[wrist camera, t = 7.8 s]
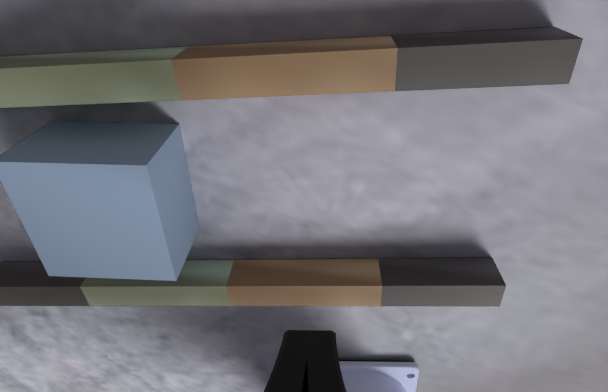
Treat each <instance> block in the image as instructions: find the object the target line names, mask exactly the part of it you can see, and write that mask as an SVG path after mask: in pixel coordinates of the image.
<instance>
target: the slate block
mask: <svg viewBox="0 0 608 392" xmlns="http://www.w3.org/2000/svg"><path fill="white" fill-rule="evenodd" d="M0 181H1V183H2V185H3V187H4V189H5V191H6V193H7V195H8V197H9V199H10V201H11V203H12V205H13V207H14V209H15V211H16V213H17V214H18V216H19V218H20V220H21V222H22V224H23V226H24V228H25V230H26V232H27V234H28V236H29V238H30V240H31V242H32V244H33V246H34V248H35V250H36V252H37V254H38V256H39V258H40V260H41V262H42V264H43V266H44V268H45V270H46V272H47V274H48V276H62V277H87V278H113V279H138V280H163V281H177V278H178V276H179V274H180V272H181V269H182V267H183V265H184V263H185V260H186V258H187V256H188V254H189V251H190V249H191V247H192V245H193V242H194V240H195V238H196V236H197V233H198V231H199V229H200V228H199V223H198V218H197V213H196V207H195V202H194V197H193V192H192V187H191V182H190V176H189V171H188V166H187V161H186V156H185V150H184V145H183V140H182V135H181V130H180V125H179V124H157V123H105V122H52V121H50V122H49V123H48V124H46V125H45V126H43V127H42V128H40V129H39V130H37V131H36V132H34V133H33V134H31V135H30V136H28V137H27V138H25V139H24V140H22V141H21V142H19V143H18V144H16V145H15V146H13V147H12V148H10V149H9V150H7V151H6V152H4V153H3V154H1V155H0Z"/></svg>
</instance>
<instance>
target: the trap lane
mask: <svg viewBox="0 0 608 392" xmlns="http://www.w3.org/2000/svg"><path fill="white" fill-rule="evenodd" d="M582 40H583V38H580V37H578V36H575V35H573V34H571V33H568V32H566V31H563V30H561V29H558V28H556V27H540V28H521V29H503V30H484V31H466V32H447V33H429V34H410V35H392V36H373V37H355V38H336V39H317V40H299V41H280V42H262V43H243V44H225V45H206V46H188V47H169V48H151V49H132V50H114V51H95V52H77V53H58V54H40V55H21V56H3V57H0V108H11V107H35V106H58V105H82V104H105V103H129V102H152V101H176V100H199V99H223V98H246V97H270V96H293V95H316V94H340V93H363V92H387V91H410V90H434V89H457V88H481V87H504V86H528V85H551V84H569V82H570V78H571V75H572V72H573V69H574V66H575V62H576V59H577V56H578V53H579V50H580V46H581V43H582ZM505 287H506V285H505V283H504V281H503V279H502V277H501V275H500V273H499V271H498V269H497V267H496V264H495V262H494V260H493V258H392V259H272V260H185V263H184V265H183V267H182V269H181V272H180V274H179V276H178V278H177V281H163V280H138V279H113V278H87V277H62V276H48V274H47V272H46V270H45V268H44V266H43V264H42V262H41V261H32V262H1V263H0V306H500V303H501V300H502V297H503V294H504V290H505Z"/></svg>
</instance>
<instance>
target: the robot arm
mask: <svg viewBox="0 0 608 392" xmlns="http://www.w3.org/2000/svg"><path fill="white" fill-rule="evenodd" d="M418 374H419V368H418V365H417V364H416V363H414V362H365V361H339V359H338V353H337V346H336V333H334V332H333V331H308V330H288V331H287V332H285V333H284V337H283V341H282V344H281V347H280V351H279V354H278V357H277V360H276V362H275V365H274V368H273V371H272V373H271V376H270V378H269V381H268V383H267V386H266V388H265V390H264V392H416V386H417V380H418Z"/></svg>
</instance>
